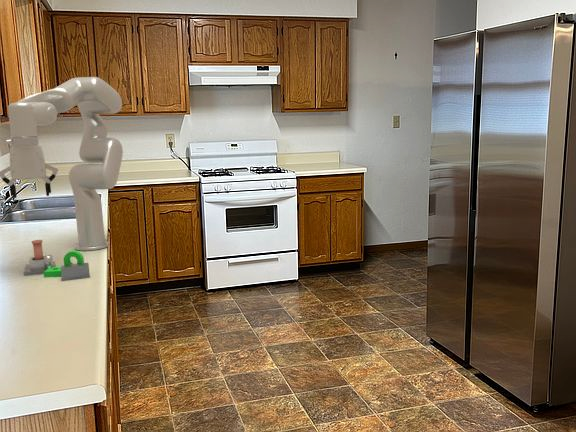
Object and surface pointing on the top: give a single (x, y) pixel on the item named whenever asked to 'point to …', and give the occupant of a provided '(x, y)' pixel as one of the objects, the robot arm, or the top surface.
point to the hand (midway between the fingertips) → (31, 196)
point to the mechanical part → (57, 270)
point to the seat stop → (75, 271)
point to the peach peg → (37, 249)
